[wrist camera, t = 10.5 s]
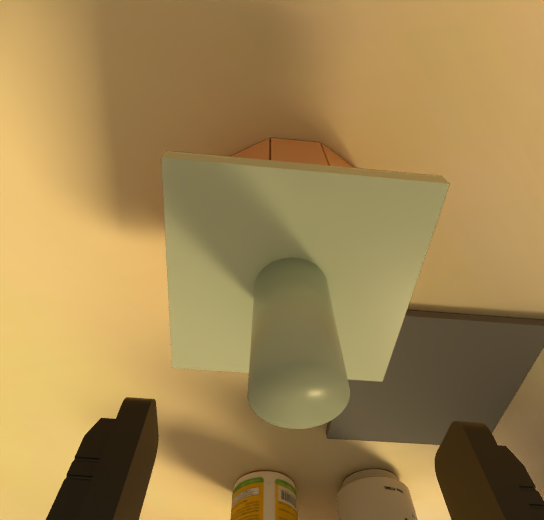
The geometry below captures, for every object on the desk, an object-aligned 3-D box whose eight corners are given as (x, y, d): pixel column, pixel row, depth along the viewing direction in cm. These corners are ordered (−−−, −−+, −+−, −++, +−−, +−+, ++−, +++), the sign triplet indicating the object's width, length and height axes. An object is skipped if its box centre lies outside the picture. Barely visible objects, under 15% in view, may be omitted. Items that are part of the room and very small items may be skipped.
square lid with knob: (441, 175, 15) (537, 266, 9) (378, 369, 20) (417, 497, 15) (166, 150, 14) (104, 231, 9) (175, 355, 19) (139, 483, 14)
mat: (550, 320, 25) (556, 326, 24) (479, 440, 31) (483, 447, 30) (358, 306, 24) (360, 312, 24) (326, 431, 30) (327, 438, 30)
